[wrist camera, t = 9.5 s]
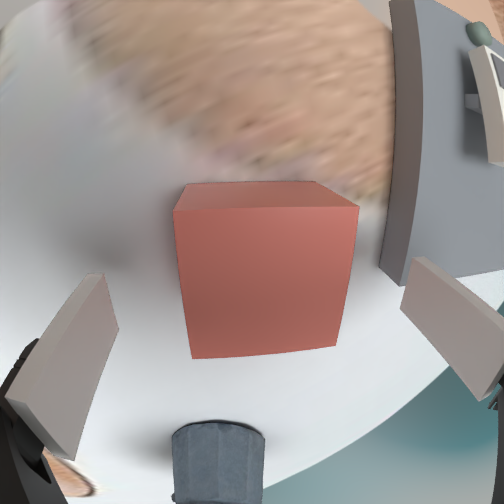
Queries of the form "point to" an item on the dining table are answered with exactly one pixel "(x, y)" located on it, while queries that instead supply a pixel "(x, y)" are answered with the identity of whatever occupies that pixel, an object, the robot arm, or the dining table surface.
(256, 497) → the moka pot
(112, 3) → the dining table surface
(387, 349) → the dining table surface
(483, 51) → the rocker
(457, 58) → the panel
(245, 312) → the cap
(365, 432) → the dining table surface
